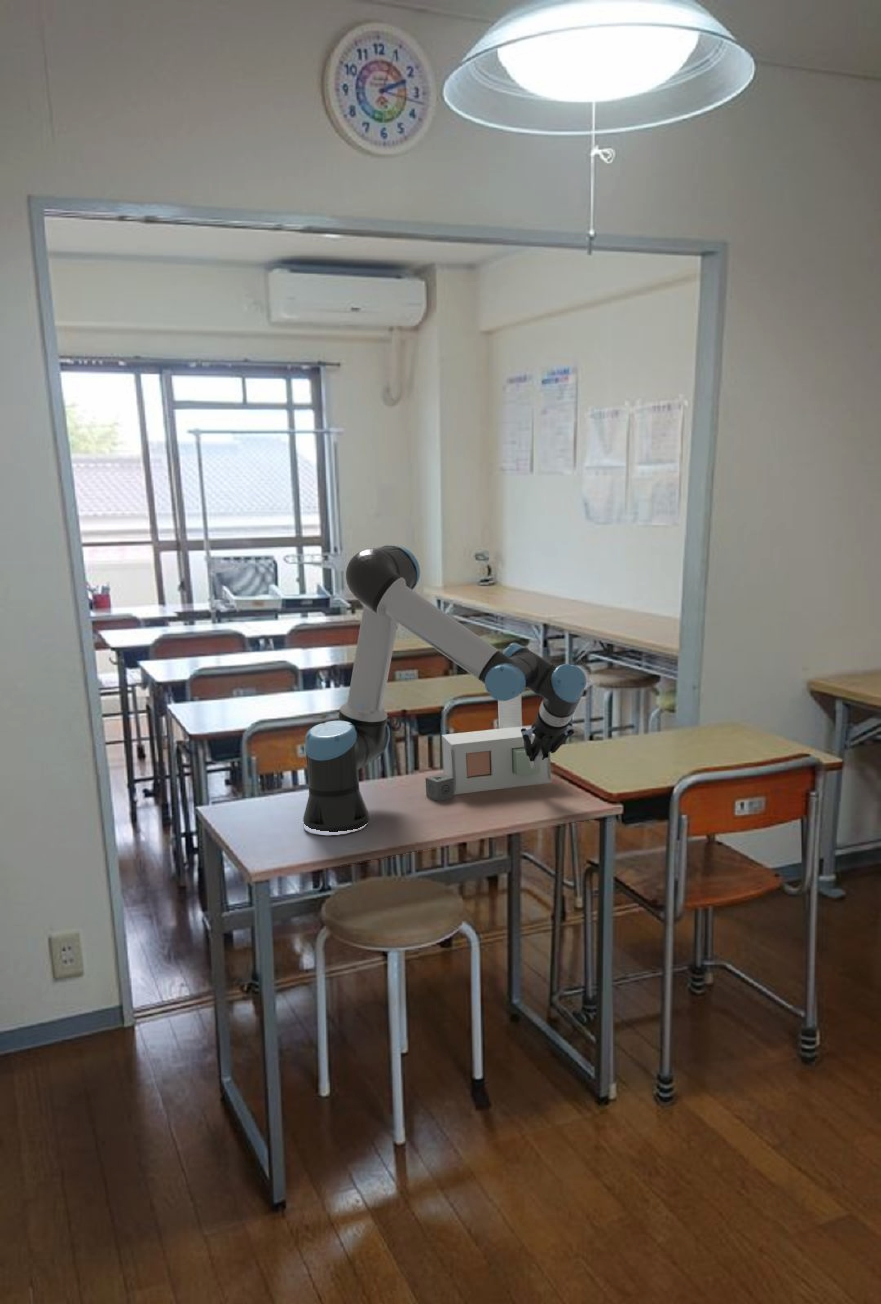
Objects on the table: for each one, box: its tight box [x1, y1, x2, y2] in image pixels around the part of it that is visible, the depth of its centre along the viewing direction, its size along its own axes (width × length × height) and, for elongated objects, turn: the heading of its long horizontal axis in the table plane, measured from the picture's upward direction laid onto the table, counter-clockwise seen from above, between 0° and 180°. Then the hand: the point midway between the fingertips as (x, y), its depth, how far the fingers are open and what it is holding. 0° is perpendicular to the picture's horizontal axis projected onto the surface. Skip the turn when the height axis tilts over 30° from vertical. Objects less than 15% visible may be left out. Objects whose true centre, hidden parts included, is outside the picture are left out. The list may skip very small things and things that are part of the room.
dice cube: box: [425, 773, 455, 802], centre depth 229 cm, size 5×5×5 cm
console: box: [441, 724, 552, 795], centre depth 237 cm, size 26×10×13 cm, turn 104°
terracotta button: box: [466, 751, 490, 777], centre depth 234 cm, size 6×7×6 cm
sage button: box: [512, 747, 540, 775], centre depth 234 cm, size 6×7×6 cm
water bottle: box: [497, 693, 523, 729], centre depth 250 cm, size 9×6×25 cm
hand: (533, 764), depth 227 cm, fingers closed
